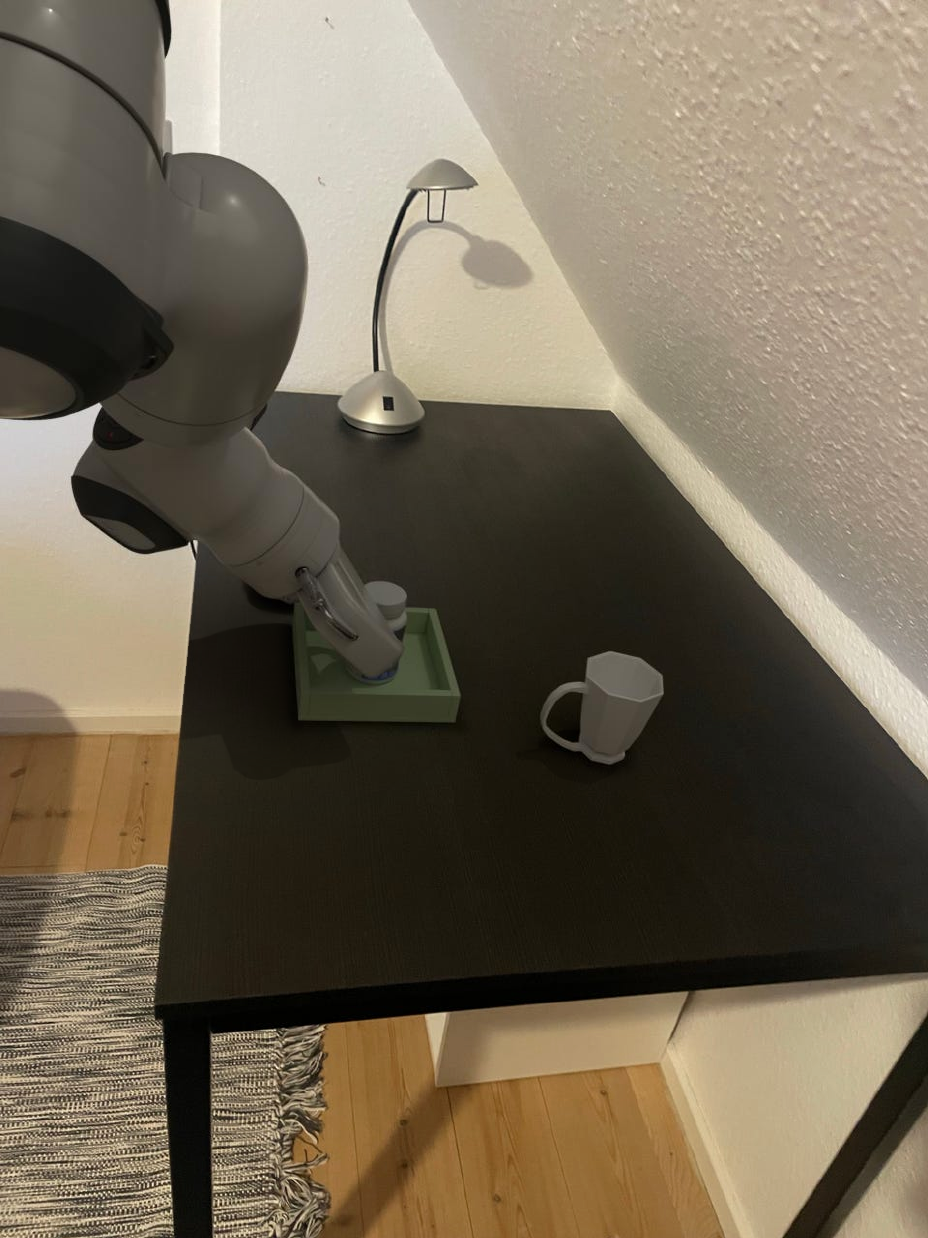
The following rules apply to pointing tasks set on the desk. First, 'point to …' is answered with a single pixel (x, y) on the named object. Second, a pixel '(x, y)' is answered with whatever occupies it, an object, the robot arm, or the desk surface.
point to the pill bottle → (392, 608)
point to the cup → (610, 705)
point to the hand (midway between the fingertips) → (384, 630)
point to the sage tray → (408, 697)
